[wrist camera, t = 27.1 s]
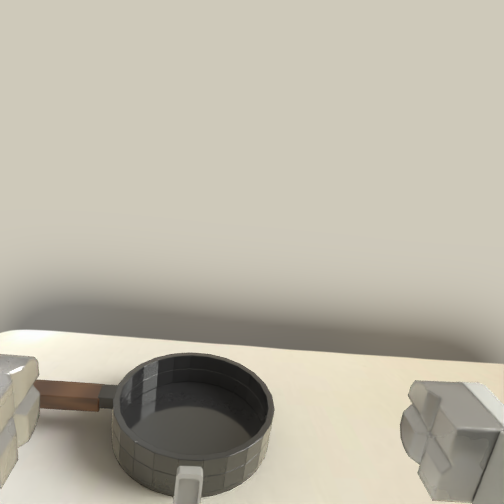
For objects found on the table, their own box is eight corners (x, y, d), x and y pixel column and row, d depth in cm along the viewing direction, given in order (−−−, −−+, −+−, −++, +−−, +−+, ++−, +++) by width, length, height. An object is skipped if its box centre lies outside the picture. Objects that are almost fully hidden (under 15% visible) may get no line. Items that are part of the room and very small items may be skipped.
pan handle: (119, 397, 41) (120, 384, 41) (114, 413, 39) (114, 399, 38) (0, 389, 40) (-1, 376, 39) (-12, 405, 38) (-13, 391, 37)
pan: (260, 387, 50) (265, 358, 48) (276, 501, 35) (284, 464, 34) (129, 377, 48) (131, 347, 47) (91, 494, 34) (92, 455, 32)
